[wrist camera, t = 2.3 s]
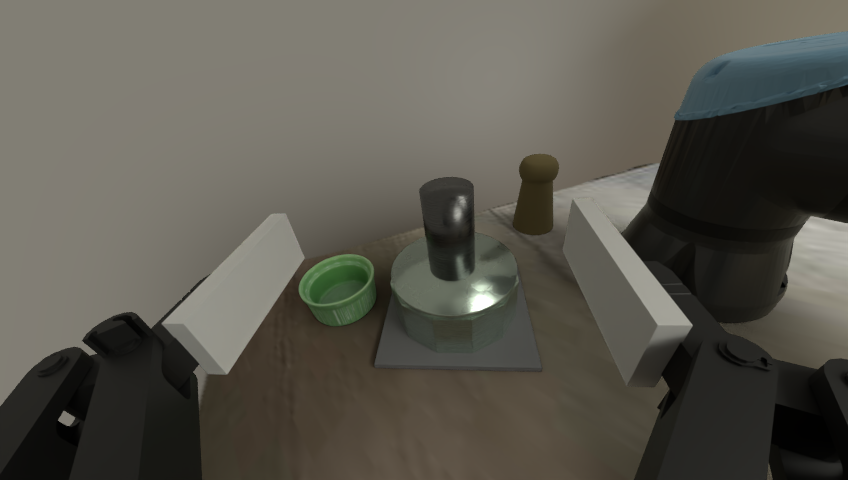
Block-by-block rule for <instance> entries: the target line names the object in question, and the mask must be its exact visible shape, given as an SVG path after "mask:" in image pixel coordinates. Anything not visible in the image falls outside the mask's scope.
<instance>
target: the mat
mask: <svg viewBox="0 0 848 480" xmlns="http://www.w3.org/2000/svg"><path fill="white" fill-rule="evenodd" d="M515 261H516V258H515ZM516 263H517V262H516ZM517 275H518V280H519V285H518V296H517V307H516V315H515V317H514V319H513V321H512V322H511V324H510V326H509V328H508V330H507V331H506V333H505V335H504V337H503V338H502V339H500V340H498V341H496V342H494V343H492V344H490V345H488V346H486V347H485V348H483V349H481V350H479V351H477V352H475V353H437V352H435V351H433V350H431V349H429V348H427V347H426V346H424V345H422V344H420V343H418V342H416V341H415V340H413V339H411V338H409V336H408V334H407V332H406V330H405V328H404V326H403V324H402V322H401V320H400V318H399V316H398V313H397V309H396V305H395V301H394V297H393V293H392V294H391V298H390V303H389V307H388V311H387V315H386V319H385V323H384V327H383V331H382V335H381V339H380V343H379V347H378V351H377V355H376V359H375V363H374V365H375V368H404V369H449V370H494V371H538V372H541V371H542V366H541V362H540V357H539V353H538V349H537V345H536V341H535V337H534V333H533V329H532V324H531V320H530V316H529V312H528V308H527V304H526V300H525V296H524V291H523V287H522V283H521V279H520V275H519V271H518V267H517Z"/></svg>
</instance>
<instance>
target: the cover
mask: <svg viewBox="0 0 848 480" xmlns="http://www.w3.org/2000/svg"><path fill="white" fill-rule="evenodd" d="M419 193H420V199H421V207H422V214H423V221H424V229H425V237H422V238H420V239H418V240H416V241H414V242H413V243H411V244H409V245H408V246H407V247H406V248H404V249H403V250H402V251H401V252H400V253H399V255H398V256H397V257H396V259H395V261H394V263H393V266H392V270H391V283H390V285H391V289H392V293H393V297H394V301H395V305H396V309H397V313H398V316H399V318H400V320H401V322H402V324H403V326H404V328H405V330H406V332H407V334H408V336H409V338H411V339H413V340H415V341H416V342H418V343H420V344H422V345H424V346H426V347H427V348H429V349H431V350H433V351H435V352H437V353H475V352H477V351H479V350H481V349H483V348H485V347H486V346H488V345H490V344H492V343H494V342H496V341H498V340H500V339H502V338H503V337H504V335H505V333H506V331H507V330H508V328H509V326H510V324H511V322H512V321H513V319H514V317H515V315H516V307H517V296H518V285H519V280H518V275H517V263H516V261H515V258H514V256H513V254H512V253H511V252H510V250H509V249H508V248H507V247H506V246H505V245H503V244H502V243H500V242H499V241H497V240H496V239H494V238H491V237H489V236H487V235H483V234H480V233H476V232H475V231H474V189H473V184H472V183H471V182H470V181H468V180H466V179H463V178H457V177H444V178H438V179H434V180H431V181H429V182H427V183H426V184H424V185H423V186H422V187H421V188H420V191H419Z"/></svg>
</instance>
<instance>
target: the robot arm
mask: <svg viewBox="0 0 848 480" xmlns="http://www.w3.org/2000/svg"><path fill="white" fill-rule="evenodd" d="M674 118H675V123H674V126H673V129H672V131H671V134H670V137H669V140H668V143H667V146H666V149H665V152H664V154H663V157H662V160H661V163H660V166H659V169H658V172H657V175H656V177H655V180H654V183H653V186H652V189H651V192H650V194H649V197H648V200H647V203H646V204H645V206H644V207H643V208H642V209H641V211H640V212H639V213H638V214H637V215H636V217H635V218H634V219H633V220H632V221H631V223H630V224H629V225H628V227H627V228H626V229H625V230H624V231H623V232H622V233H621V234H620V233H619V231H618V230H617V229H616V228H615V226H614V225H613V224H612V223H611V221H610V220H609V219H608V218H607V216H606V215H605V214H604V212H603V211H602V210H601V209H600V207H599V206H598V205H597V204H596V202H595V201H594V200H593V199H592V198H578V199H572V205H571V210H570V215H569V220H568V225H567V230H566V235H565V240H564V245H563V250H562V251H563V253H564V255H565V257H566V259H567V261H568V263H569V265H570V268H571V270H572V272H573V274H574V276H575V278H576V280H577V282H578V285H579V287H580V289H581V291H582V293H583V295H584V297H585V299H586V302H587V304H588V306H589V308H590V310H591V312H592V314H593V316H594V319H595V321H596V323H597V325H598V327H599V329H600V331H601V333H602V335H603V338H604V340H605V342H606V344H607V346H608V348H609V350H610V352H611V355H612V357H613V359H614V361H615V363H616V365H617V367H618V369H619V372H620V374H621V376H622V378H623V380H624V382H625V384H626V386H634V387H655V386H656V384H657V383H658V381H659V380H660V378H661V376H663V378H664V380H665V381H666V383H667V385H668V386H669V388H670V389H669V391H668V392H667V394H666V395H665V397H664V398H663V400H662V401H661V403H660V404H659V406H658V407H657V408H658V409H660V412H659V415H658V417H657V420H656V423H655V425H654V428H653V431H652V433H651V436H650V439H649V441H648V444H647V447H646V449H645V452H644V454H643V457H642V460H641V462H640V465H639V468H638V470H637V473H636V476H635V478H634V480H767V472H768V463H769V465H770V469H771V473H772V477H773V480H848V360H847V359H830V360H828V361H827V362H826V363H825V364H824V365H823V366H821V367H820V368H819V369H813V368H809V367H805V366H801V365H797V364H792V363H788V362H784V361H780V360H776V359H772V357H771V356H770V355H769V354H768V353H767V352H766V351H764V350H763V349H762V348H760V347H759V346H758V345H756V344H754V343H752V342H750V341H749V340H747V339H745V338H743V337H739V336H736V335H733V334H729V333H727V332H726V331H725V330H724V329H723V328H722V327H721V326H720V324H719V323H718V322H722V323H740V322H748V321H753V320H756V319H759V318H762V317H764V316H765V315H767V314H768V313H770V312H771V311H772V309H773V308H774V307H775V306H776V305H777V303H778V302H779V301H780V300H781V298H782V297H783V296H784V294H785V292H786V289H787V284H788V278H787V275H786V271H787V269H788V267H789V263H790V259H791V254H792V248H793V241H794V238H795V236H796V235H797V234H798V232H799V231H800V229H801V228H802V227H803V225H804V224H805V222H806V221H807V220H808V219H809V218H810V216H814V217H819V218H824V219H829V220H834V221H839V222H843V223H848V31H847V32H839V33H831V34H824V35H818V36H811V37H805V38H799V39H793V40H786V41H781V42H775V43H770V44H765V45H760V46H755V47H750V48H746V49H742V50H738V51H734V52H730V53H727V54H724V55H721V56H719V57H717V58H714V59H713V60H711V61H709V62H707V63H706V64H705V65H703V66H702V67H701V68H700V69H699V70H698V71H697V73H696V74H695V75H694V77H693V79H692V81H691V83H690V85H689V88H688V90H687V92H686V95H685V97H684V100H683V102H682V104H681V106H680V109H679V110H678V111H677V112H676V114H675V116H674ZM303 260H304V255H303V253H302V251H301V248H300V246H299V243H298V241H297V239H296V237H295V234H294V232H293V229H292V227H291V225H290V223H289V220H288V218H287V215H286V214H285V213H282V214H271V215H270V216H269V217H268V218H267V219H266V220H265V221H264V222H263V223H262V224H261V225H260V226H259V227H258V228H257V229H256V230H255V231H254V232H253V233H252V234H251V235H250V236H249V237H248V238H247V239H246V240H245V241H244V242H243V243H242V244H241V245H240V246H239V247H238V248H237V249H236V250H235V251H234V252H233V253H232V254H231V255H230V256H229V257H228V258H227V259H226V260H225V261H224V262H223V263H222V264H221V265H220V266H219V267H218V268H217V269H216V270H215V271H214V272H213V273H211V274H209V275H208V276H207V277H205V278H203V279H202V280H200V281H199V282H198V283H197V284H196V285H195V286H194V287H193V288H192V289H191V290H190V292H188V293H187V294H186V295H185V296H184V297H183V298H182V300H180V301H179V302H178V303H177V304H176V305H175V306H174V307H173V308H172V309H171V310H170V311H169V312H168V313H167V314H166V315H165V316H164V317H163V318H162V319H161V320H160V321H159V322H158V323H157V324H156V325H154V326H153V327H152V329H150V328H149V327H148V326H147V325H146V323H145V322H144V321H143V320H142V319H141V318H140V317H139V316H138V315H137V314H135V313H133V312H129V313H128V312H127V313H122V314H119V315H116V316H113V317H111V318H109V319H107V320H105V321H103V322H101V323H100V324H99V325H97V326H95V327H94V328H93V329H92V330H91V331H90V332H88V333H87V334H86V336H85V337H84V339H83V340H82V341H83V342H84V343H85V344H86V345H88V346H89V347H90V348H91V349H93V350H94V351H95V352H96V353H97V354H95V355H91V356H89V355H88V354H87V353H86V352H84V351H83V350H82V349H81V348H78V347H72V348H67V349H64V350H61V351H59V352H56V353H53V354H51V355H50V356H48V357H46V358H44V359H43V360H42V361H41V362H40V363H38V364H37V365H35V366H34V367H33V368H32V369H31V370H30V371H29V372H28V373H27V374H26V375H25V377H24V378H23V379H22V380H21V381H20V383H19V384H18V385H17V386H16V388H15V389H14V390H13V391H12V393H11V394H10V395H9V396H8V398H7V399H6V400H5V401H4V403H3V404H2V405H1V406H0V480H202V470H201V448H200V426H199V404H198V382H197V377H196V375H195V374H194V373H193V371H194V370H195V369H196V367H197V366H198V365H200V366H201V367H202V368H203V369H204V370H205V371H206V373H207V374H224V375H227V374H228V372H229V371H230V369H231V368H232V366H233V365H234V363H235V362H236V360H237V359H238V357H239V356H240V354H241V353H242V351H243V350H244V348H245V347H246V345H247V344H248V342H249V341H250V339H251V338H252V336H253V335H254V333H255V332H256V330H257V329H258V327H259V326H260V324H261V323H262V321H263V320H264V318H265V317H266V315H267V314H268V312H269V311H270V309H271V308H272V306H273V305H274V303H275V302H276V300H277V299H278V297H279V296H280V294H281V293H282V291H283V290H284V288H285V287H286V285H287V284H288V282H289V281H290V279H291V278H292V276H293V275H294V273H295V272H296V270H297V269H298V267H299V266H300V264H301V263H302V261H303ZM63 411H66V412H67V413H69V414H71V415H72V416H74V417H75V420H74V422H73V423H72V424H71V425H70V426H66V425H64V424H62V423H61V422H59V421H58V419H59V417H60V416H61V414H62V412H63Z"/></svg>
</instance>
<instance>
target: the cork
mask: <svg viewBox="0 0 848 480" xmlns="http://www.w3.org/2000/svg"><path fill="white" fill-rule="evenodd" d="M558 169H559V164H558V162H557V160H556V158H554V157H552V156H550V155H546V154H534V155H530V156H527V157H526V158H524V159H523V161H522V162H521V164H520V167H519V172H520V177H521V178H522V185H521V189H520V193H519V198H518V202H517V206H516V211H515V215H514V220H513V227H514V228H515V229H516V230H518V231H519V232H521V233H524V234H529V235H541V234H545V233H547V232H550V230H551V229H552V228H553V180H554V179H555V178H556V176H557V174H558Z"/></svg>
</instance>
